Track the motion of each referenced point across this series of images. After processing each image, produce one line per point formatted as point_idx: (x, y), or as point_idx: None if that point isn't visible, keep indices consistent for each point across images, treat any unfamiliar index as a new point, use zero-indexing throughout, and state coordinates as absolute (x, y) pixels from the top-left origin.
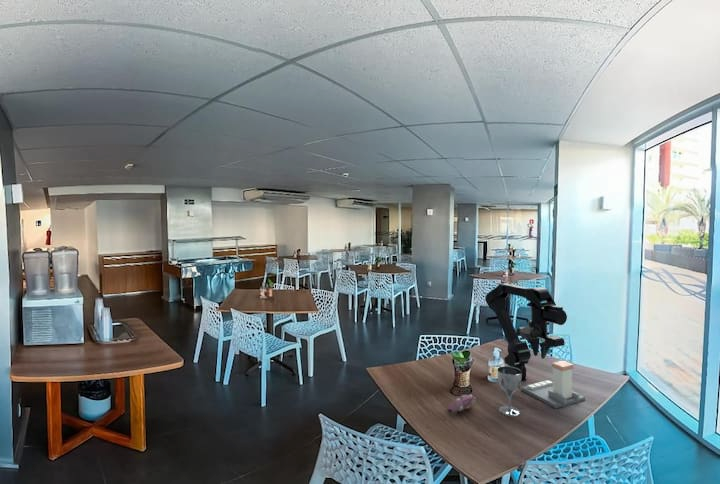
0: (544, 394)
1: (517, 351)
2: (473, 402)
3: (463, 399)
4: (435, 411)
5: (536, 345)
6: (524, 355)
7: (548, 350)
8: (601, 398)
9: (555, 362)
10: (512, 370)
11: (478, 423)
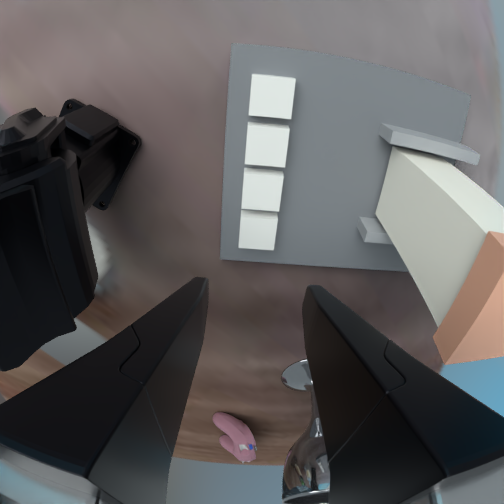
0: (338, 231)
1: (55, 334)
2: (252, 434)
3: (253, 459)
4: (217, 445)
5: (171, 392)
6: (72, 253)
7: (393, 344)
8: (488, 19)
9: (467, 339)
10: (313, 480)
11: (300, 428)
